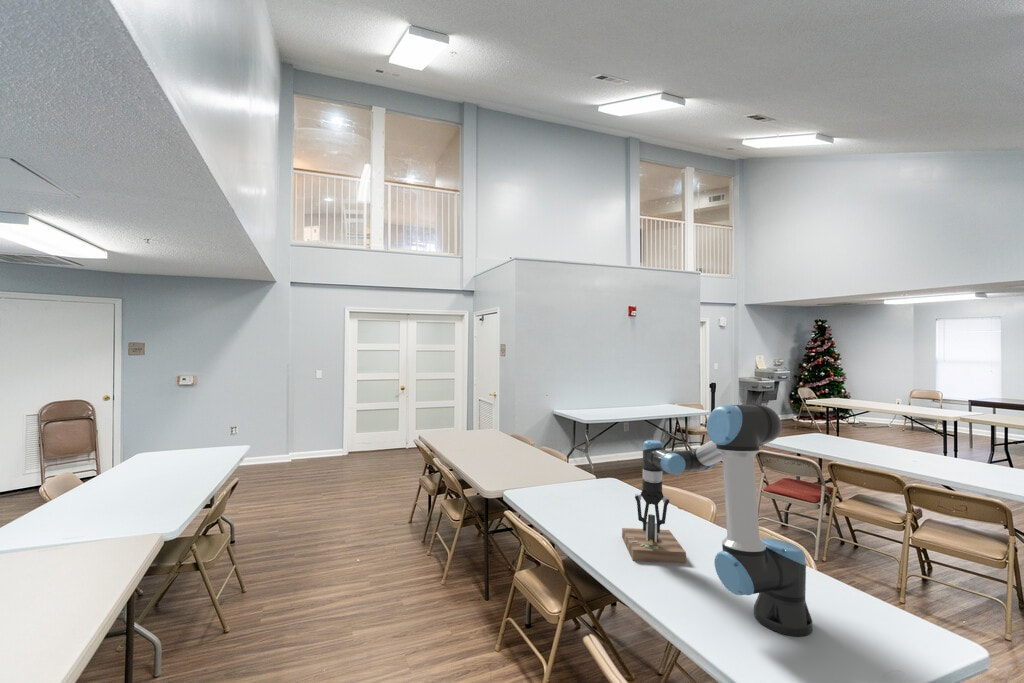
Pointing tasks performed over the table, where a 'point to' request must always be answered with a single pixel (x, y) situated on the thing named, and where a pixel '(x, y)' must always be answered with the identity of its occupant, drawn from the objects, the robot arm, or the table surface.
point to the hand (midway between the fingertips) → (651, 539)
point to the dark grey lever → (651, 529)
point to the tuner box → (653, 546)
